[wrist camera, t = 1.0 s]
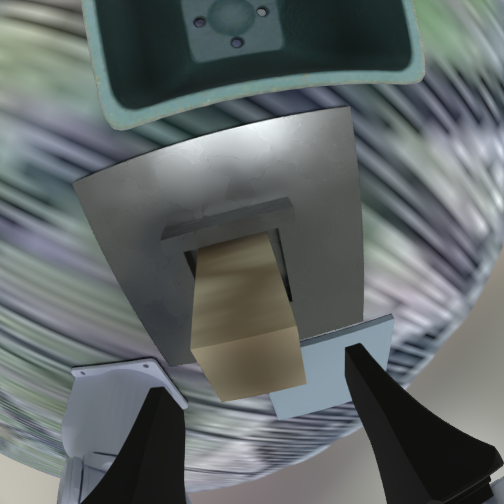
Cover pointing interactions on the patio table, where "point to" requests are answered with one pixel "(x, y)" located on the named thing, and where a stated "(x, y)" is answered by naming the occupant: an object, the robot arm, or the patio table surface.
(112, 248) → the socket base
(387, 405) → the robot arm
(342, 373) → the board
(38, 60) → the patio table surface
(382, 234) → the patio table surface
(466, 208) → the patio table surface
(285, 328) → the peg
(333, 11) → the flower pot
